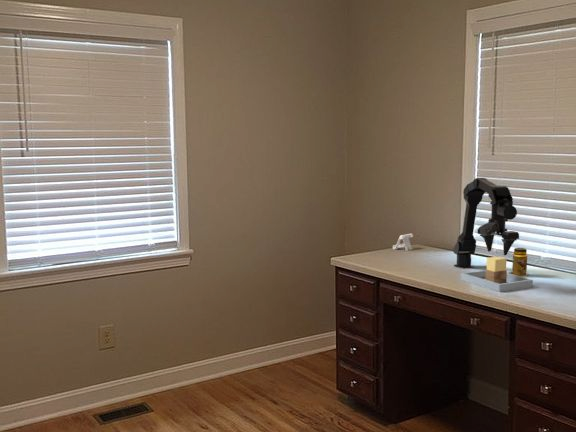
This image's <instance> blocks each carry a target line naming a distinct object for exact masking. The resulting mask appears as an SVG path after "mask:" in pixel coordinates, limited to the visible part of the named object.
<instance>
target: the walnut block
mask: <svg viewBox="0 0 576 432" xmlns="http://www.w3.org/2000/svg"><path fill="white" fill-rule="evenodd" d="M485 270H486V274H485V277H484V279H485V280H488V281H492V282H495V283H498V284H502V283H507V273H508V269H506V270H505V271H497V272H494V271H491V270H487V268H486V269H485Z"/></svg>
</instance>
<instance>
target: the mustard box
mask: <svg viewBox="0 0 576 432" xmlns="http://www.w3.org/2000/svg"><path fill="white" fill-rule="evenodd" d="M486 269H487V270H491V271H494V272H497V271H505V270H507V258H506V257H502V256H491V257H486Z"/></svg>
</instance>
